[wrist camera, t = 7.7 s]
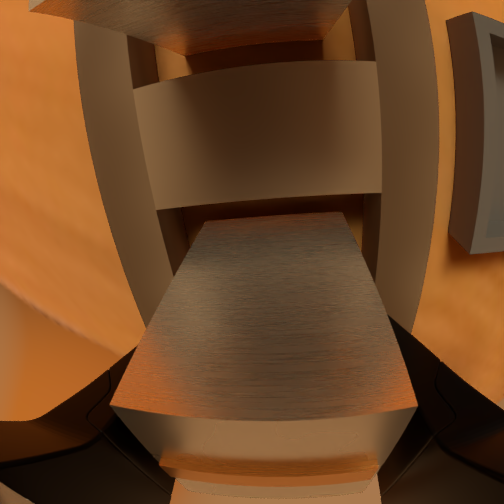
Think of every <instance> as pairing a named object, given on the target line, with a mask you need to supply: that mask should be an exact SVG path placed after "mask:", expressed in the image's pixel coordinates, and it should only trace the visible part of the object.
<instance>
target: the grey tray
mask: <svg viewBox="0 0 504 504" xmlns="http://www.w3.org/2000/svg"><path fill="white" fill-rule="evenodd" d="M446 23H447V28H448V34H449V40H450V47H451V54H452V63H453V72H454V84H455V100H456V159H455V176H454V188H453V198H452V207H451V215H450V222H449V229H448V233H449V234H450V235H451V236H452V237H453V238H454V239H455V240H456V241H457V242H458V243H459V244H460V245H461V246H462V247H463V248H464V249H465V250H466V251H467V252H468V253H469V254H480V253H490V252H501V251H504V23H502V22H499V21H497V20H494V19H492V18H489V17H486V16H484V15H481V14H478V13H475V12H469V13H466V14H463V15H460V16H457V17H454V18H451V19H449V20H446Z"/></svg>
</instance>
